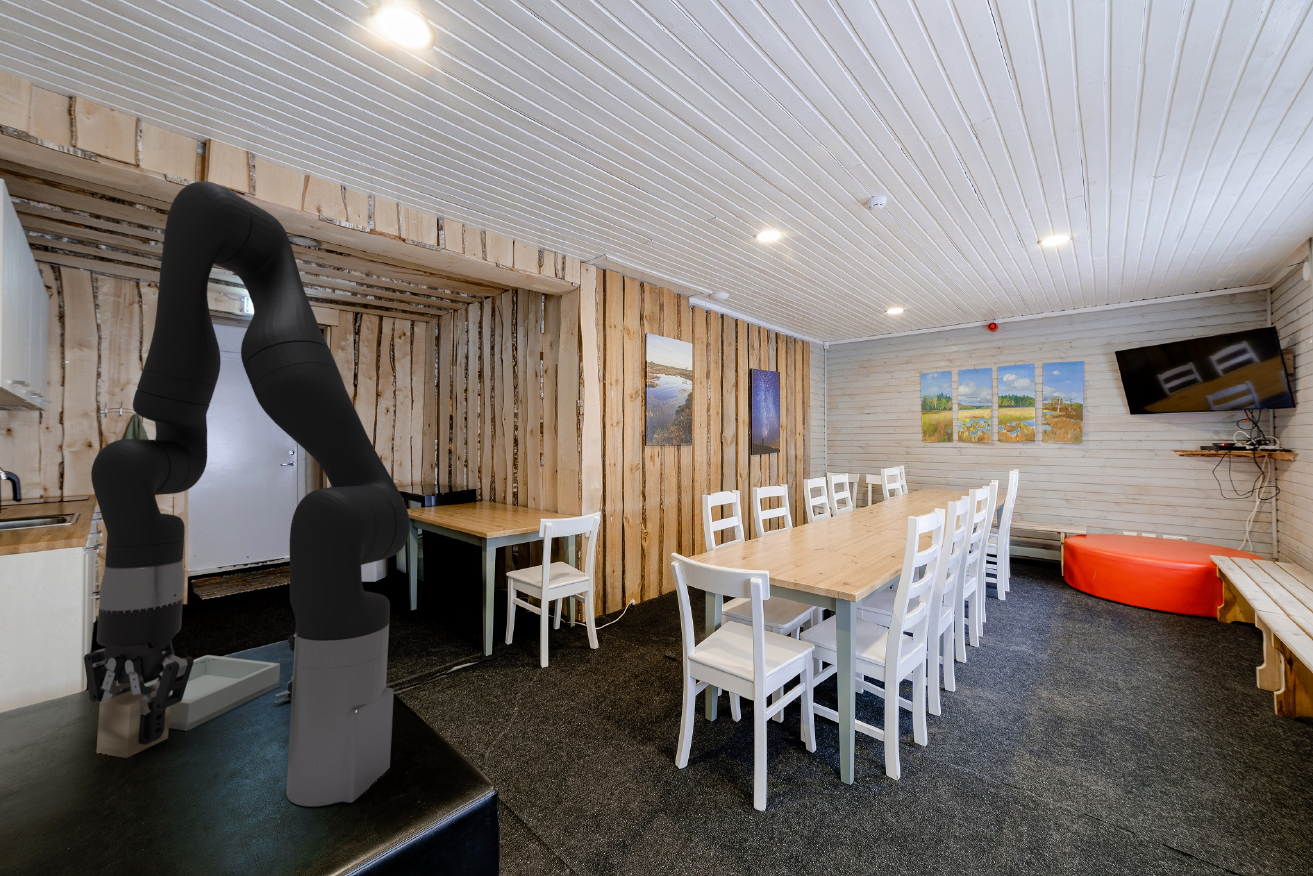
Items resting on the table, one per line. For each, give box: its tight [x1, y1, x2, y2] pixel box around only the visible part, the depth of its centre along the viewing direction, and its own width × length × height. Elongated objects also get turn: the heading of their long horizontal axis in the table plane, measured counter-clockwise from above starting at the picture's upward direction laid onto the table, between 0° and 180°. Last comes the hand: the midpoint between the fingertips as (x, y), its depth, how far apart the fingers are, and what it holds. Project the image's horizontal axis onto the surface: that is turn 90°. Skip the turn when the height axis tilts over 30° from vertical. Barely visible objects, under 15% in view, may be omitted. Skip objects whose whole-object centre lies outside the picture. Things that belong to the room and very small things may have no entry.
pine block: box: [95, 690, 171, 759], centre depth 65 cm, size 4×4×6 cm
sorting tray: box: [121, 654, 281, 732], centre depth 76 cm, size 14×14×4 cm
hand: (133, 737), depth 65 cm, fingers closed on pine block, 4 cm apart
